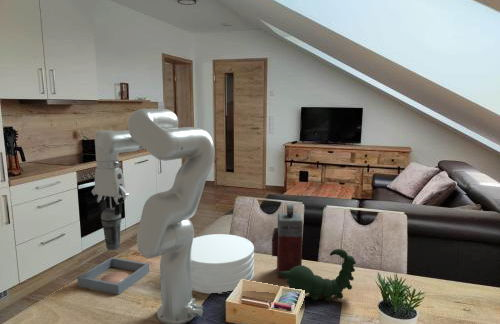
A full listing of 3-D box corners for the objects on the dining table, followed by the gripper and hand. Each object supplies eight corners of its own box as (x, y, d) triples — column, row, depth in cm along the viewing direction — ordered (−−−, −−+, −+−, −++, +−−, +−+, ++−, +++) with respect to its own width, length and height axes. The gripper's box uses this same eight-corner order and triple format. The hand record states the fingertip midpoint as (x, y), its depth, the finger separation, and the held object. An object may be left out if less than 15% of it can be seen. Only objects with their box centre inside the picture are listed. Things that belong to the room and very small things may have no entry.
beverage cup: (101, 252, 130) (97, 199, 127) (103, 245, 137) (100, 194, 134) (122, 250, 132) (119, 197, 129) (124, 243, 139) (121, 192, 136)
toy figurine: (345, 295, 129) (275, 287, 129) (353, 245, 125) (281, 237, 126) (351, 310, 119) (276, 302, 120) (360, 257, 116) (282, 248, 117)
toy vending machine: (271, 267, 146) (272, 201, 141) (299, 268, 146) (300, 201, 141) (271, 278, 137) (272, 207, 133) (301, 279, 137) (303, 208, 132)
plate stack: (256, 261, 153) (256, 235, 151) (250, 296, 125) (250, 265, 123) (191, 258, 155) (191, 232, 154) (171, 291, 128) (170, 261, 126)
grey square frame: (149, 272, 142) (149, 263, 142) (118, 294, 125) (118, 285, 125) (112, 265, 148) (111, 257, 147) (78, 286, 131) (77, 277, 131)
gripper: (134, 164, 130) (137, 212, 133) (96, 161, 136) (99, 207, 139) (120, 168, 123) (123, 218, 126) (80, 165, 129) (84, 213, 132)
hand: (110, 212), depth 132 cm, fingers closed on beverage cup, 6 cm apart
